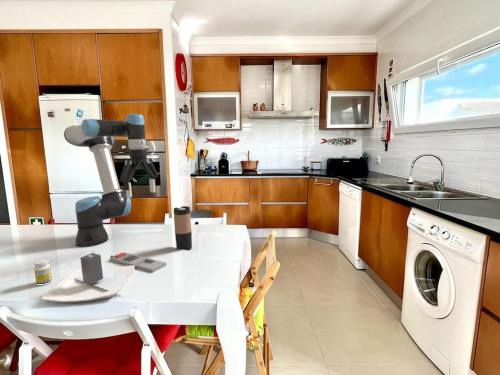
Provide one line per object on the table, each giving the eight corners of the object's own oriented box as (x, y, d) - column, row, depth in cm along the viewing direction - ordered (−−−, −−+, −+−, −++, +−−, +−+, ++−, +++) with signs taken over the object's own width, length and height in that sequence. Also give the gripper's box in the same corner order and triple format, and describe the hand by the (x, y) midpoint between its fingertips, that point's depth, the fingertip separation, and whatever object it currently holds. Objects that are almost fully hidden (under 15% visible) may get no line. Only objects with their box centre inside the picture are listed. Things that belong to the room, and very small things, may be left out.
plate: (116, 303, 90) (115, 295, 90) (35, 308, 88) (34, 301, 88) (139, 270, 114) (138, 263, 114) (76, 273, 112) (75, 267, 112)
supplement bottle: (42, 280, 107) (38, 259, 105) (55, 279, 107) (52, 258, 106) (33, 286, 102) (30, 264, 101) (47, 285, 102) (44, 263, 101)
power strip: (104, 261, 123) (103, 254, 122) (118, 255, 129) (117, 249, 128) (153, 274, 108) (152, 267, 108) (166, 267, 114) (166, 260, 114)
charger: (83, 281, 100) (80, 257, 99) (95, 276, 104) (92, 252, 103) (91, 284, 98) (88, 259, 97) (103, 278, 102) (100, 254, 100)
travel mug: (188, 252, 131) (185, 210, 128) (173, 251, 132) (170, 209, 129) (194, 246, 138) (192, 206, 135) (180, 245, 140) (177, 206, 137)
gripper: (118, 149, 117) (123, 199, 120) (163, 148, 138) (167, 190, 141) (107, 149, 120) (112, 198, 123) (153, 148, 142) (156, 190, 145)
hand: (141, 194), depth 132 cm, fingers open, 13 cm apart
